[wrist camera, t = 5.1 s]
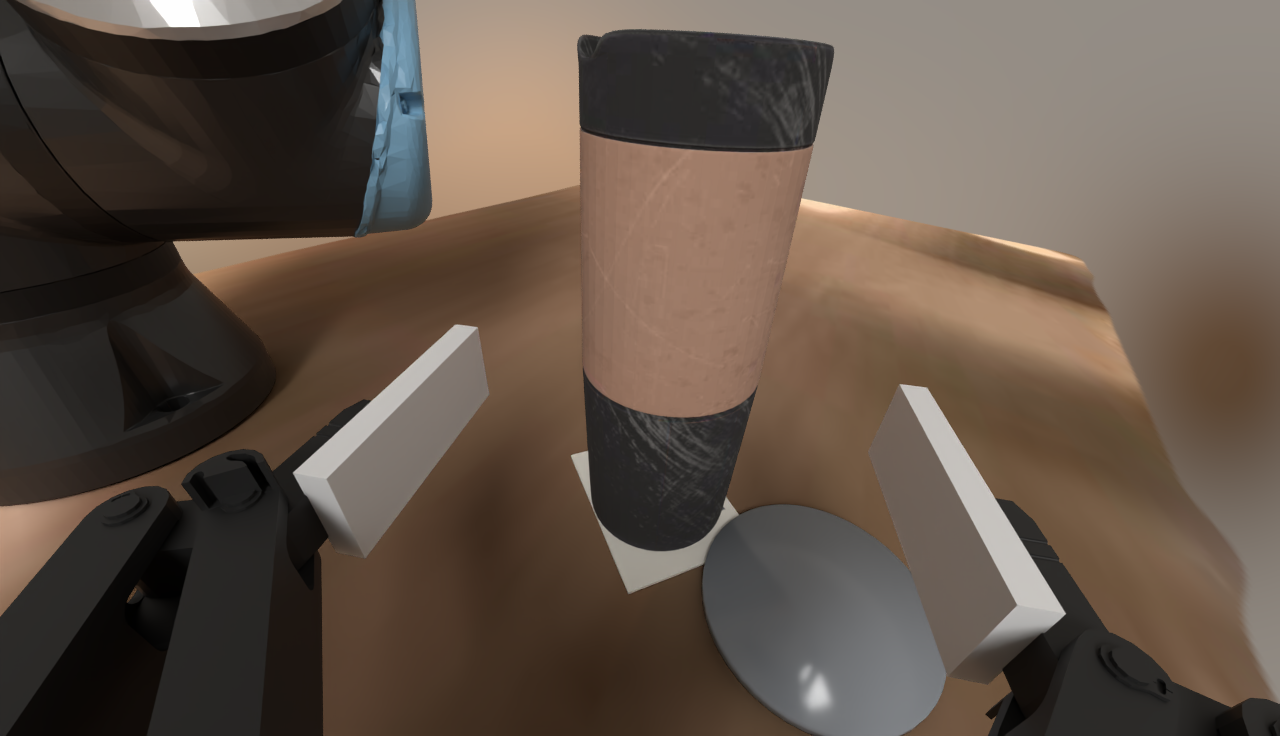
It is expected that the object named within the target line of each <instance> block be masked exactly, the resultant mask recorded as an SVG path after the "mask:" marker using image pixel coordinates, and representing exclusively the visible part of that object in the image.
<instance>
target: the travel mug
mask: <svg viewBox="0 0 1280 736" xmlns="http://www.w3.org/2000/svg"><path fill="white" fill-rule="evenodd" d="M577 50H578V61H579V110H580V111H579V112H580V126H581V128H580V192H581V274H582V357H583V377H584V394H585V410H586V426H587V443H588V459H589V475H590V488H591V498H592V504H593V508H594V510H595V513H596V515H597V517H598V519H599V520H600V522H601V523H602V525H603V526H604V527H605V528H606V529H607V530H608V531H609V532H610V533H611V534H612V535H613V536H615V537H616V538H618V539H619V540H621V541H623V542H625V543H626V544H628V545H631V546H634V547H636V548H640V549H644V550H650V551H673V550H678V549H682V548H685V547H688V546H691V545H693V544H695V543H696V542H698V541H700V540H701V539H703V538H704V537H705V536H706V535H707V534H708V533H709V532H710V531H711V530H712V529H713V527H714V526H715V524H716V523H717V521H718V519H719V517H720V514H721V511H722V508H723V505H724V501H725V498H726V495H727V491H728V488H729V484H730V481H731V477H732V474H733V470H734V467H735V463H736V460H737V456H738V453H739V449H740V446H741V442H742V439H743V435H744V432H745V428H746V425H747V421H748V418H749V414H750V411H751V407H752V404H753V400H754V397H755V393H756V390H757V386H758V382H759V379H760V374H761V370H762V366H763V362H764V357H765V353H766V349H767V344H768V340H769V336H770V331H771V327H772V323H773V318H774V314H775V310H776V305H777V301H778V297H779V292H780V288H781V284H782V280H783V275H784V271H785V267H786V262H787V258H788V254H789V249H790V245H791V241H792V236H793V232H794V228H795V223H796V219H797V215H798V211H799V206H800V202H801V198H802V193H803V189H804V184H805V180H806V176H807V172H808V167H809V163H810V159H811V154H812V150H813V142H814V141H815V137H816V133H817V129H818V124H819V120H820V116H821V111H822V107H823V103H824V98H825V94H826V90H827V86H828V81H829V77H830V72H831V68H832V62H833V57H834V48H833V46H831V45H828V44H825V43H819V42H813V41H806V40H798V39H789V38H779V37H768V36H757V35H743V34H729V33H712V32H696V31H675V30H674V31H673V30H646V29H645V30H644V29H643V30H642V29H635V30H634V29H629V30H618V31H612V32H609V33H606V34H605V35H603V36H602V37H598V36H593V35H582V36H581V37H580V38H579V40H578V44H577Z"/></svg>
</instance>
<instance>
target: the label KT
mask: <svg viewBox="0 0 1280 736" xmlns="http://www.w3.org/2000/svg"><path fill="white" fill-rule="evenodd" d="M571 458H572V461H573V463H574V466H575V468H576V470H577V473H578V475H579V478H580V480H581V482H582V485H583V487H584V490H585V492H586V494H587V497H588V499H589V501H590V504H591V506H592V509H593V511H594V513H595V510H594V508H593V504H592V498H591V488H590V475H589V459H588V451H585V452H581V453H577V454H573V455H571ZM595 516H596V518H597V521H598V523H599V525H600V528H601V530H602V533H603V535H604V537H605V540H606V542H607V545H608V547H609V549H610V552H611V554H612V557H613V559H614V561H615V564H616V566H617V569H618V571H619V573H620V576H621V578H622V581H623V583H624V585H625V588H626V590H627V593H628V594H630V593H633V592H635V591H638V590H640V589H643V588H646V587H648V586H651V585H653V584H656V583H658V582H661V581H663V580H666V579H668V578H671V577H674V576H676V575H679V574H681V573H684V572H686V571H689V570H691V569H694V568H696V567H699V566H702V565H704V564H705V561H706V557H707V554H708V551H709V549H710V546H711V544H712V542H713V541H714V539H715V537H716V535H717V534H718V533H719V532H720V531H721V529H722V528H723V527H724V526H725V525H726V524H727V523H729V522H730V521H731V520H732V519H734V518H735V517H737V516H739V514H738V513H737V511H736V510H735V509H734V507H733V506H732V504H731V503H730V502H729V500H728V499H727V498H725V501H724V505H723V508H722V511H721V514H720V517H719V519H718V521H717V523H716V524H715V526H714V527H713V529H712V530H711V531H710V532H709V533H708V534H707V535H706V536H705V537H704V538H703V539H701V540H700V541H698V542H696V543H695V544H693V545H691V546H688V547H685V548H682V549H678V550H673V551H650V550H644V549H640V548H636V547H634V546H631V545H628V544H626V543H625V542H623V541H621V540H619V539H618V538H616V537H615V536H613V535H612V534H611V533H610V532H609V531H608V530H607V529H606V528H605V527H604V526H603V525H602V523H601V522H600V520H599V519H598V517H597V515H596V513H595Z"/></svg>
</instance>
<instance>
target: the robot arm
mask: <svg viewBox="0 0 1280 736" xmlns="http://www.w3.org/2000/svg"><path fill="white" fill-rule="evenodd" d="M431 208H432V193H431V180H430V168H429V157H428V146H427V135H426V123H425V112H424V98H423V86H422V74H421V62H420V50H419V37H418V26H417V14H416V3H415V0H0V506H10V505H19V504H28V503H34V502H41V501H46V500H51V499H57V498H61V497H66V496H70V495H74V494H78V493H82V492H86V491H90V490H93V489H97V488H100V487H104V486H107V485H110V484H113V483H116V482H119V481H122V480H125V479H128V478H131V477H134V476H137V475H139V474H142V473H144V472H147V471H150V470H152V469H154V468H157V467H159V466H162V465H164V464H166V463H169V462H171V461H173V460H175V459H177V458H180V457H182V456H184V455H186V454H188V453H190V452H192V451H194V450H196V449H198V448H199V447H201V446H203V445H205V444H207V443H208V442H210V441H212V440H214V439H215V438H217V437H219V436H220V435H222V434H223V433H225V432H226V431H228V430H229V429H231V428H232V427H234V426H235V425H237V424H238V423H239V422H241V421H242V420H243V419H244V418H246V417H247V416H248V415H249V414H250V413H252V412H253V411H254V410H255V409H256V408H257V407H258V406H259V405H260V404H261V403H262V402H263V400H264V399H265V398H266V397H267V395H268V394H269V392H270V391H271V389H272V387H273V385H274V382H275V377H276V371H275V367H274V365H273V363H272V361H271V359H270V357H269V355H268V353H267V351H266V348H265V346H264V344H263V343H262V341H261V340H260V338H259V337H258V336H257V335H256V334H255V333H254V332H253V331H252V330H251V329H250V328H249V327H248V326H247V325H246V324H245V323H244V322H243V321H242V320H241V319H240V318H238V317H237V316H236V315H235V314H234V313H233V312H232V311H231V310H230V309H229V308H228V307H227V306H226V305H225V304H224V303H223V302H222V301H220V300H219V299H218V298H217V297H216V296H215V295H214V294H213V293H212V292H211V291H210V290H209V289H208V288H207V287H206V286H205V285H203V284H202V283H201V282H200V281H199V280H198V279H197V278H196V277H195V276H194V275H193V274H192V273H191V272H190V271H189V270H188V268H187V267H186V266H185V264H184V262H183V260H182V259H181V257H180V255H179V253H178V251H177V249H176V247H175V245H174V244H173V241H201V240H202V241H203V240H236V239H238V240H239V239H273V238H274V239H275V238H312V237H346V236H347V237H348V236H353V237H364V236H366V235H367V234H370V233H380V232H389V231H399V230H408V229H412V228H415V227H417V226H419V225H420V224H422V223H423V222H424V221H425V220H426V219H427V217H428V216H429V214H430V212H431ZM488 395H489V390H488V385H487V379H486V373H485V367H484V361H483V355H482V349H481V344H480V338H479V332H478V327H471V326H464V325H457V324H456V325H455V326H453V327H452V328H451V329H450V330H449V331H448V332H447V333H446V334H445V335H444V336H442V337H441V338H440V339H439V340H438V341H437V342H436V343H435V344H434V345H433V346H431V347H430V348H429V349H428V350H427V351H426V352H425V353H424V354H423V355H422V356H421V357H419V358H418V359H417V360H416V361H415V362H414V363H413V364H412V365H411V366H410V367H408V368H407V369H406V370H405V371H404V372H403V373H402V374H401V375H400V376H399V377H397V378H396V379H395V380H394V381H393V382H392V383H391V384H390V385H389V386H388V387H387V388H385V389H384V390H383V391H382V392H381V393H380V394H379V395H378V396H377V397H376V398H374V399H373V400H372V401H370V400H362V401H360V402H358V403H356V404H354V405H352V406H350V407H348V408H346V409H344V410H343V411H342V412H341V413H340V414H338V415H337V416H336V417H335V418H334V419H333V420H331V421H330V422H329V425H328V426H325V427H323V428H322V429H321V430H320V431H319V432H318V433H317V435H316V437H314V436H313V437H312V438H311V439H310V440H308V441H307V442H306V443H305V444H304V445H303V446H302V447H300V448H299V449H298V450H297V451H296V452H295V453H294V454H292V455H291V456H290V457H289V458H288V459H287V460H285V461H284V462H283V463H282V464H281V465H280V466H279V467H277V468H276V469H275V470H274V471H273V472H272V470H271V469H270V467H269V465H268V464H267V462H266V460H265V458H264V457H263V455H262V454H261V453H259V452H257V451H255V450H246V449H241V450H235V451H229V452H226V453H223V454H220V455H217V456H215V457H212V458H210V459H208V460H207V461H205V462H203V463H201V464H199V465H198V466H197V467H195V468H194V469H193V470H192V471H191V472H189V473H188V474H187V475H186V477H185V479H184V480H183V482H182V483H181V485H182V486H183V487H184V489H185V490H186V491H187V493H188V494H189V495H190V496H191V498H192V499H193V500H188V501H177V502H176V501H175V499H174V498H173V497H172V496H171V494H170V493H169V492H168V491H167V489H164V488H162V487H159V486H148V487H141V488H137V489H133V490H129V491H126V492H124V493H121V494H119V495H117V496H115V497H112V498H110V499H109V500H107V501H105V502H104V503H102V504H101V505H99V506H97V507H96V508H95V509H94V510H92V511H91V512H90V513H89V514H88V515H87V516H86V517H85V518H84V519H83V520H82V521H81V522H80V524H79V525H78V526H77V527H76V528H75V529H74V531H73V532H72V533H71V534H70V535H69V537H68V538H67V539H66V540H65V541H64V542H63V544H62V545H61V546H60V547H59V548H58V550H57V551H56V552H55V553H54V554H53V555H52V557H51V558H50V559H49V560H48V561H47V562H46V564H45V565H44V566H43V567H42V568H41V570H40V571H39V572H38V573H37V574H36V575H35V577H34V578H33V579H32V580H31V581H30V583H29V584H28V585H27V586H26V587H25V588H24V590H23V591H22V592H21V593H20V594H19V595H18V597H17V598H16V599H15V600H14V601H13V603H12V604H11V605H10V606H9V607H8V608H7V610H6V611H5V612H4V613H3V614H2V616H1V617H0V736H323V682H322V588H321V557H320V554H319V552H318V549H319V547H320V546H321V545H322V544H323V543H324V542H325V541H326V539H327V538H329V540H330V542H331V544H332V546H333V548H334V550H335V551H336V553H340V554H345V555H350V556H355V557H360V558H366V557H367V556H368V554H369V553H370V552H371V550H372V549H373V548H374V546H375V545H376V544H377V542H378V541H379V540H380V538H381V537H382V536H383V535H384V533H385V532H386V531H387V529H388V528H389V527H390V525H391V524H392V523H393V521H394V520H395V519H396V517H397V516H398V515H399V513H400V512H401V511H402V509H403V508H404V507H405V505H406V504H407V503H408V501H409V500H410V499H411V497H412V496H413V495H414V493H415V492H416V491H417V489H418V488H419V487H420V485H421V484H422V483H423V482H424V480H425V479H426V478H427V476H428V475H429V474H430V472H431V471H432V470H433V468H434V467H435V466H436V464H437V463H438V462H439V460H440V459H441V458H442V456H443V455H444V454H445V452H446V451H447V450H448V448H449V447H450V446H451V444H452V443H453V442H454V440H455V439H456V438H457V436H458V435H459V434H460V433H461V431H462V430H463V429H464V427H465V426H466V425H467V423H468V422H469V421H470V419H471V418H472V417H473V415H474V414H475V413H476V411H477V410H478V409H479V407H480V406H481V405H482V403H483V402H484V401H485V399H486V398H487V397H488ZM868 454H869V456H870V459H871V462H872V465H873V468H874V470H875V473H876V476H877V479H878V482H879V485H880V487H881V490H882V493H883V496H884V499H885V501H886V504H887V507H888V510H889V513H890V515H891V518H892V521H893V524H894V527H895V530H896V532H897V535H898V538H899V541H900V544H901V546H902V549H903V552H904V555H905V558H906V560H907V563H908V566H909V569H910V572H911V575H912V577H913V580H914V583H915V586H916V589H917V591H918V594H919V597H920V600H921V603H922V605H923V608H924V611H925V614H926V617H927V619H928V622H929V625H930V628H931V631H932V634H933V636H934V639H935V642H936V645H937V648H938V650H939V653H940V656H941V659H942V662H943V664H944V667H945V670H946V673H947V676H948V677H953V678H958V679H963V680H968V681H973V682H978V683H982V684H987V685H988V684H989V683H990V682H991V681H992V680H993V679H994V678H995V677H997V676H998V675H999V674H1000V673H1001V672H1002V671H1003V672H1004V674H1005V676H1006V679H1007V681H1008V683H1009V685H1010V688H1011V690H1012V691H1011V692H1010V693H1009V694H1008V695H1007V696H1005V697H1004V698H1003V699H1002V700H1000V701H999V702H998V703H997V704H996V705H994V706H993V707H992V708H991V709H990V710H989V711H988V712H987V713H986V714H985V715H987V716H988V717H989V718H990V719H993V718H994V717H995V716H996V715H997V716H996V718H995V721H994V723H993V725H992V728H991V730H990V732H989V735H988V736H1280V704H1278V703H1275V702H1272V701H1270V700H1267V699H1258V698H1249V699H1247V700H1245V701H1243V702H1241V703H1239V704H1237V705H1235V706H1234V707H1232V708H1231V707H1228V706H1226V705H1224V704H1222V703H1219V702H1217V701H1215V700H1213V699H1210V698H1208V697H1206V696H1203V695H1201V694H1199V693H1197V692H1194V691H1192V690H1190V689H1188V688H1185V687H1183V686H1181V685H1179V684H1176V683H1174V682H1172V681H1171V679H1170V678H1169V676H1168V675H1167V673H1166V672H1165V671H1164V670H1163V669H1162V668H1161V667H1160V666H1159V665H1158V664H1157V663H1156V662H1155V661H1154V660H1153V659H1152V658H1151V657H1150V656H1149V655H1147V654H1146V653H1145V652H1143V651H1142V650H1141V649H1139V648H1138V647H1137V646H1135V645H1134V644H1133V643H1131V642H1129V641H1127V640H1125V639H1123V638H1121V637H1119V636H1117V635H1115V634H1113V633H1109V631H1108V630H1107V629H1106V628H1105V626H1104V625H1103V623H1102V622H1101V620H1100V619H1099V617H1098V616H1097V614H1096V613H1095V611H1094V610H1093V608H1092V607H1091V605H1090V604H1089V602H1088V601H1087V599H1086V598H1085V596H1084V595H1083V593H1082V592H1081V590H1080V589H1079V587H1078V586H1077V584H1076V583H1075V581H1074V580H1073V578H1072V577H1071V575H1070V574H1069V572H1068V571H1067V569H1066V568H1065V566H1064V565H1063V563H1060V562H1059V557H1058V556H1057V554H1056V553H1055V552H1054V550H1053V549H1052V547H1051V546H1050V545H1048V544H1047V542H1048V541H1047V540H1046V538H1045V537H1044V535H1043V534H1042V532H1041V531H1040V529H1039V528H1038V526H1037V525H1036V523H1035V522H1034V520H1033V519H1031V518H1030V517H1029V516H1028V515H1027V514H1026V513H1025V512H1024V511H1023V510H1022V509H1020V508H1019V507H1018V506H1017V505H1016V504H1015V503H1014V502H1013V501H1008V500H1002V499H996V498H994V496H993V494H992V493H991V491H990V490H989V488H988V486H987V485H986V483H985V481H984V480H983V478H982V477H981V475H980V473H979V472H978V470H977V468H976V467H975V465H974V464H973V462H972V460H971V459H970V457H969V455H968V454H967V452H966V450H965V449H964V447H963V446H962V444H961V442H960V441H959V439H958V437H957V436H956V434H955V433H954V431H953V429H952V428H951V426H950V424H949V423H948V421H947V420H946V418H945V416H944V415H943V413H942V411H941V410H940V408H939V407H938V405H937V403H936V402H935V400H934V398H933V397H932V395H931V394H930V392H929V390H928V389H927V388H925V387H917V386H910V385H902V384H899V386H898V388H897V390H896V393H895V395H894V397H893V399H892V401H891V403H890V406H889V408H888V410H887V412H886V414H885V416H884V419H883V421H882V423H881V425H880V427H879V429H878V431H877V434H876V436H875V438H874V440H873V442H872V444H871V447H870V449H869V451H868ZM134 588H136V589H137V591H136V593H135V594H134V596H133V597H132V599H131V600H130V601H129V602H128V603H127V600H128V597H129V595H130V594H131V592H132V591H133V589H134Z"/></svg>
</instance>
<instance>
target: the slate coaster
mask: <svg viewBox="0 0 1280 736" xmlns="http://www.w3.org/2000/svg"><path fill="white" fill-rule="evenodd" d="M701 589H702V604H703V609H704V614H705V618H706V622H707V625H708V628H709V631H710V634H711V636H712V638H713V640H714V643H715V645H716V647H717V649H718V651H719V653H720V654H721V656H722V658H723V659H724V661H725V663H726V664H727V666H728V667H729V669H730V670H731V671H732V673H733V674H734V675H735V677H736V678H737V679H738V681H739V682H740V683H741V684H742V685H743V686H744V687H745V688H746V689H747V690H748V692H749V693H750V694H751V695H752V696H753V697H754V698H755V699H757V700H758V701H759V702H760V703H761V704H762V705H763V706H765V707H766V708H767V709H768V710H769V711H771V712H772V713H774V714H775V715H776V716H778V717H779V718H781V719H782V720H784V721H785V722H787V723H789V724H790V725H792V726H794V727H796V728H798V729H800V730H802V731H804V732H806V733H808V734H811V735H813V736H903V735H905V734H907V733H909V732H910V731H911V730H912V729H914V728H915V727H916V726H917V725H918V724H920V723H921V722H922V721H923V720H924V719H925V718H926V717H927V716H928V715H929V713H930V712H931V711H932V709H933V708H934V707H935V705H936V704H937V702H938V700H939V697H940V695H941V693H942V691H943V687H944V683H945V679H946V670H945V667H944V664H943V662H942V659H941V656H940V653H939V650H938V648H937V645H936V642H935V639H934V636H933V634H932V631H931V628H930V625H929V622H928V619H927V617H926V614H925V611H924V608H923V605H922V603H921V600H920V597H919V594H918V591H917V589H916V586H915V583H914V580H913V577H912V575H911V572H910V571H909V569H908V568H907V567H906V566H905V565H904V564H903V563H902V562H901V561H900V559H899V558H898V557H896V556H895V555H894V554H893V553H892V552H891V551H890V550H889V549H888V548H887V547H886V546H884V545H883V544H882V543H881V542H879V541H878V540H877V539H876V538H874V537H873V536H871V535H870V534H868V533H867V532H865V531H864V530H862V529H861V528H859V527H857V526H855V525H854V524H852V523H850V522H848V521H846V520H844V519H842V518H840V517H838V516H835V515H833V514H830V513H827V512H824V511H821V510H817V509H814V508H810V507H804V506H799V505H786V504H782V505H769V506H762V507H758V508H755V509H751V510H749V511H747V512H744V513H742V514H740V515H739V516H737V517H735V518H734V519H732V520H731V521H730V522H729V523H727V524H726V525H725V526H724V527H723V528H722V529H721V531H720V532H719V533H718V534H717V535H716V537H715V539H714V541H713V542H712V544H711V546H710V549H709V551H708V554H707V557H706V561H705V566H704V570H703V575H702V588H701Z"/></svg>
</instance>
